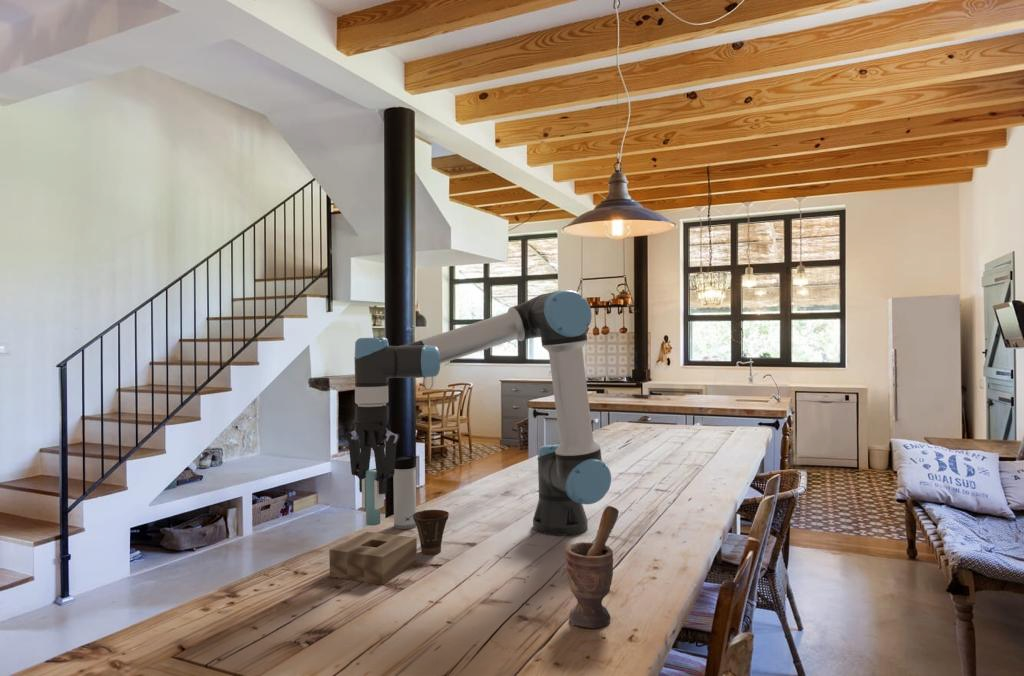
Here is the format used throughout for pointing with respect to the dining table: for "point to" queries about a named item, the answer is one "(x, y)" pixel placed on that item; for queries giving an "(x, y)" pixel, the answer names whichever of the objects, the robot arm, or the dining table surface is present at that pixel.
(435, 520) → the cup
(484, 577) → the dining table surface
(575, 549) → the mortar and pestle
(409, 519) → the travel mug
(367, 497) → the dowel
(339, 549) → the socket block
